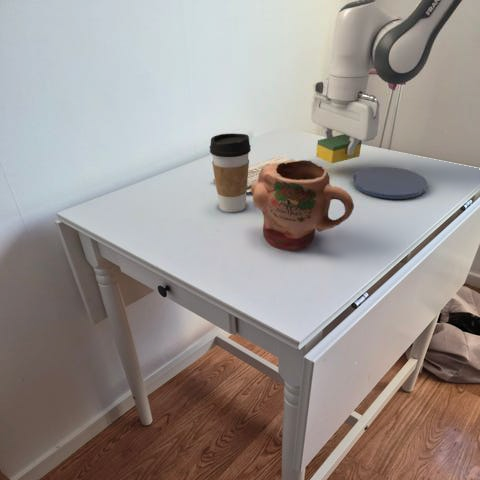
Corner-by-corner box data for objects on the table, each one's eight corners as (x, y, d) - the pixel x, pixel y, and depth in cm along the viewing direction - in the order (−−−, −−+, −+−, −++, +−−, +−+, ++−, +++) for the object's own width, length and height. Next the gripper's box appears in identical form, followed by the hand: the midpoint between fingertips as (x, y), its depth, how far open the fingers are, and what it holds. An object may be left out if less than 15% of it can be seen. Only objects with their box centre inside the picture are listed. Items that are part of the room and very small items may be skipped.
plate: (387, 167, 110) (388, 161, 109) (441, 189, 99) (443, 183, 98) (337, 181, 104) (338, 176, 103) (389, 207, 92) (390, 201, 92)
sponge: (343, 149, 110) (345, 133, 108) (359, 156, 106) (362, 140, 104) (316, 156, 107) (317, 140, 104) (331, 163, 103) (333, 146, 100)
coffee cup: (239, 218, 90) (237, 146, 80) (206, 210, 93) (200, 139, 84) (257, 202, 96) (258, 133, 86) (226, 195, 99) (222, 128, 89)
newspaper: (245, 198, 98) (244, 187, 96) (214, 187, 106) (212, 177, 104) (312, 172, 108) (312, 161, 107) (280, 164, 116) (279, 154, 115)
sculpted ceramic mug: (355, 236, 83) (368, 166, 74) (338, 267, 75) (349, 192, 66) (263, 217, 90) (263, 151, 81) (237, 244, 82) (235, 173, 73)
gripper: (390, 95, 91) (378, 159, 100) (329, 79, 105) (323, 137, 114) (369, 99, 89) (358, 165, 98) (308, 82, 102) (304, 141, 111)
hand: (339, 150), depth 106 cm, fingers closed on sponge, 6 cm apart
